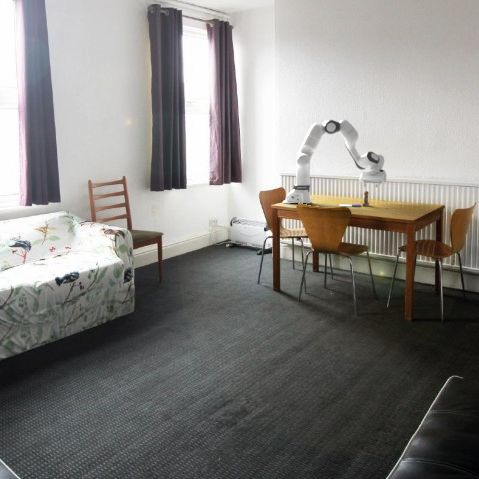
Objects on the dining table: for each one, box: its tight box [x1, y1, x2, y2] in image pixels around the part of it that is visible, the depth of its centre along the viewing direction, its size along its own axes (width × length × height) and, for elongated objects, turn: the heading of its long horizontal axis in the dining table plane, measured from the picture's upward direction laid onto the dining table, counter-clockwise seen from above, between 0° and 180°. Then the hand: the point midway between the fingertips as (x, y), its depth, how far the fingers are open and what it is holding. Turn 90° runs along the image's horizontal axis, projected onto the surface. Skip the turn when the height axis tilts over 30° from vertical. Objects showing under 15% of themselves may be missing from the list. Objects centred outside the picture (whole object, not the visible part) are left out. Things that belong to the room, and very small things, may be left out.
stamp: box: [362, 190, 370, 207], centre depth 432 cm, size 4×4×11 cm
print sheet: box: [339, 203, 353, 208], centre depth 436 cm, size 9×9×1 cm
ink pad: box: [351, 203, 361, 208], centre depth 433 cm, size 6×8×1 cm
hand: (370, 186), depth 438 cm, fingers open, 8 cm apart
